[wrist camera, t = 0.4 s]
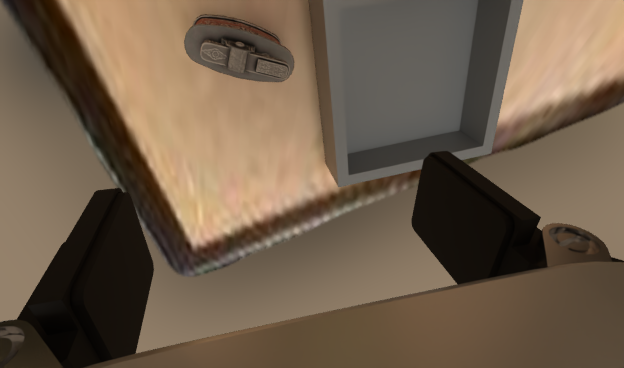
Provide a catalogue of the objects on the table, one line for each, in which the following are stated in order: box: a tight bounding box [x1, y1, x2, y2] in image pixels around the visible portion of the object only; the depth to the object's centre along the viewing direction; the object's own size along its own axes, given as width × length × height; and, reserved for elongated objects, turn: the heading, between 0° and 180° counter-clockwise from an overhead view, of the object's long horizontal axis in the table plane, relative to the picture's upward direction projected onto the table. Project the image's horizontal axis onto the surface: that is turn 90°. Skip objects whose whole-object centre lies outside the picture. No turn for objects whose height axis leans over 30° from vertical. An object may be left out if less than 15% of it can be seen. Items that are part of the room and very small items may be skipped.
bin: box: [309, 0, 523, 187], centre depth 34 cm, size 18×18×6 cm
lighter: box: [184, 14, 294, 82], centre depth 27 cm, size 8×3×10 cm, turn 74°
